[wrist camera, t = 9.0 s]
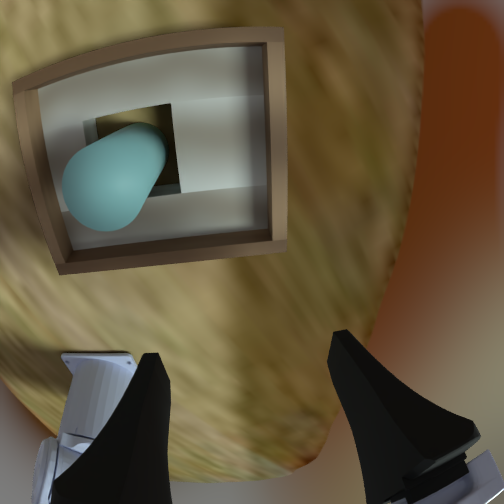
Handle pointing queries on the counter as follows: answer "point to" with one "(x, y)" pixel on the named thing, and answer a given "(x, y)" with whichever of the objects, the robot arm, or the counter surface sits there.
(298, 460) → the counter surface
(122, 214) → the peg
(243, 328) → the counter surface
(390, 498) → the robot arm
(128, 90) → the box
